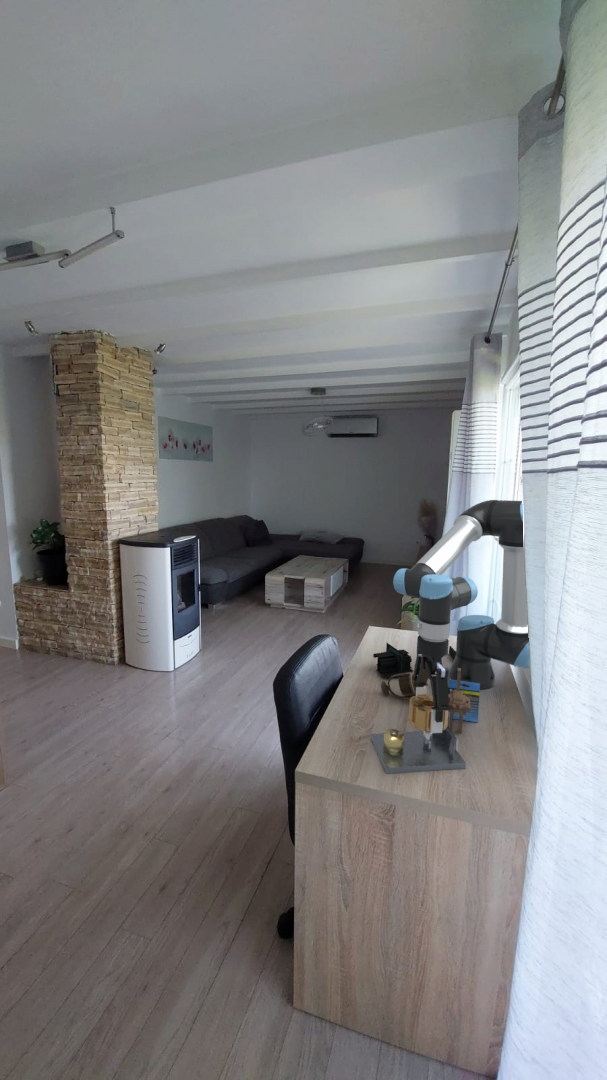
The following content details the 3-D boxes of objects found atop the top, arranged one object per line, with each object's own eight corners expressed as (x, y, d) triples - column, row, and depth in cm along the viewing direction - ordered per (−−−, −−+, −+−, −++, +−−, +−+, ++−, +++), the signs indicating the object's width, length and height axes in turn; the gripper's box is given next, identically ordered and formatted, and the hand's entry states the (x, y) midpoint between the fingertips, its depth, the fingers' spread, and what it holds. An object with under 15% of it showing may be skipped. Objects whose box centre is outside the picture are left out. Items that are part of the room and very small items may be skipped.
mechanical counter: (421, 709, 132) (423, 678, 130) (379, 704, 134) (380, 674, 133) (420, 697, 139) (421, 668, 137) (380, 693, 141) (381, 664, 140)
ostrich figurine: (443, 723, 125) (446, 665, 123) (467, 727, 123) (471, 668, 120) (441, 758, 109) (445, 692, 107) (469, 764, 107) (474, 696, 105)
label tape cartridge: (476, 716, 128) (479, 677, 127) (478, 723, 125) (480, 683, 123) (445, 711, 131) (447, 673, 129) (445, 718, 127) (448, 679, 125)
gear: (437, 711, 115) (438, 693, 114) (453, 731, 105) (454, 712, 105) (403, 712, 114) (404, 694, 113) (416, 733, 104) (418, 713, 104)
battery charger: (480, 655, 174) (481, 646, 173) (490, 665, 164) (490, 656, 164) (448, 655, 174) (449, 645, 174) (456, 665, 165) (456, 655, 164)
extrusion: (417, 679, 152) (418, 652, 150) (386, 685, 148) (388, 657, 146) (398, 665, 163) (399, 640, 162) (369, 670, 159) (370, 644, 158)
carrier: (440, 734, 119) (442, 712, 118) (465, 768, 105) (467, 743, 104) (370, 738, 116) (371, 716, 115) (386, 773, 102) (387, 748, 102)
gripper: (403, 622, 117) (399, 699, 120) (437, 655, 95) (431, 747, 98) (429, 622, 118) (425, 698, 121) (469, 654, 96) (462, 746, 99)
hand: (427, 720), depth 109 cm, fingers closed on gear, 9 cm apart
